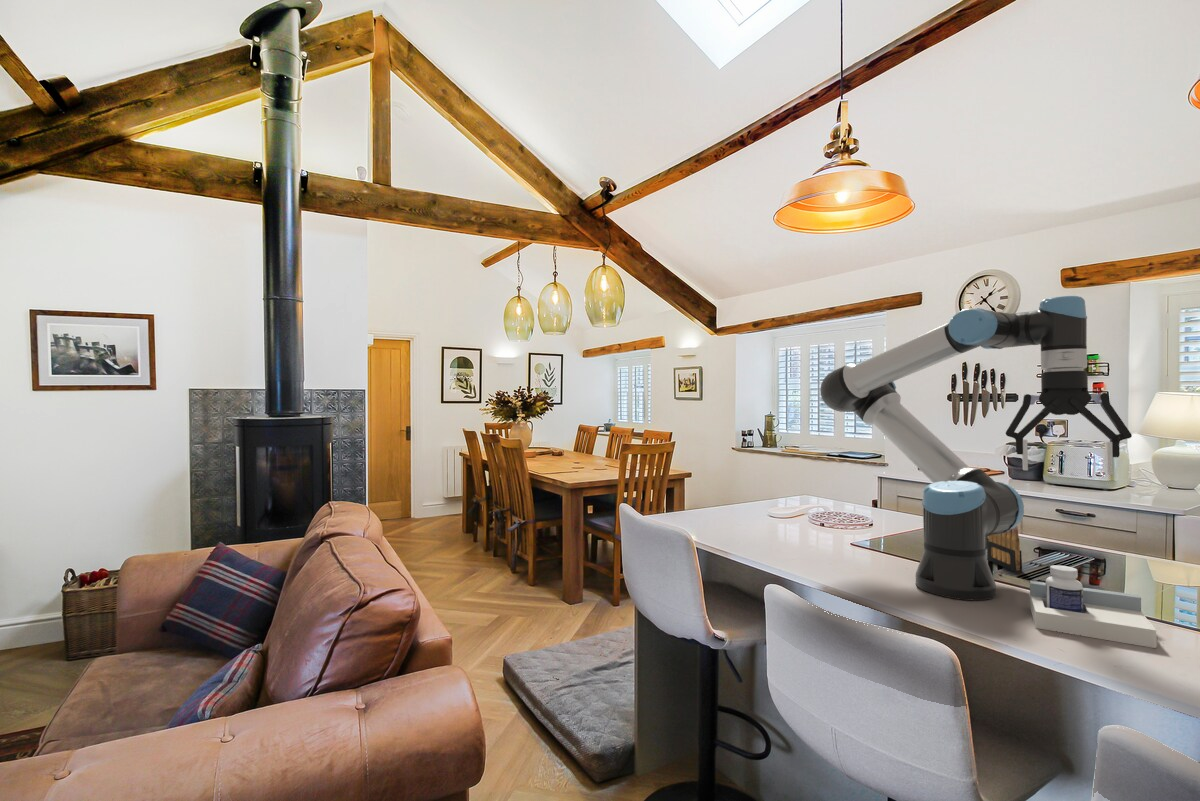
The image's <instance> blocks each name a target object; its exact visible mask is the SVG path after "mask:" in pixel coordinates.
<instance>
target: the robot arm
mask: <svg viewBox="0 0 1200 801" xmlns="http://www.w3.org/2000/svg"><path fill="white" fill-rule="evenodd" d="M1087 319H1088V316H1087V310H1086V301H1085V299H1084V298H1083V297H1082V296H1078V295H1066V296H1065V295H1063V296H1054V297H1050V298H1045V299H1042V300H1041V301H1040V303H1039V307H1038V309H1036V310H1032V311H1031V310H1030V311H1022V312H1013V313H1008V312H1001V311H994V310H987V309H984V308H980V307H979V308H977V307H976V308H965V309H962V310H960V311H958V312H956V313H955V314H954V315H953V316H952V318H951V319H950V321H949V322H947V323H945V324H943V325H940V326H938V327H936V328H934V329H931V330H930V331H929V330H928V332H925V333H922V334H920V335H919V336H916V337H914V338H912V339H909V340H908V341H905V342H903V343H901V344H899V345H897V346H894V347H892V348H890V349H887V350H886V351H884V352H881V353H879V354H877V355H874V356H872V357H870V358H867V359H866V360H863V361H862V362H859V363H847V364H845V365H843V366H841V367H838V368H837V369H835V370H832V371H831V372H830V373H828V374H827V375H825V377H824V378H823V380H822V381H821V384H820V390H819V391H820V396H821V399H822V401H823V403H824V404H825V405H826V406H827V407H828V408H830V409H832V410H833V411H836V412H840V413H841V412H842V413H854V414H855V415H856V416H857V417H858V418H859V419H860V420H861V421H862V422H863V423H864V424H866V425H873V426H876V428H877V429H878V430H879V431H880V432H881V433H882V434H884V435H885V437H887V439H889V441H890V442H892V444H894V445H895V447H896V448H898V450H900V451H901V453H902V454H903V455H904V456H906V458H907V459H908V460H909V461H911V463H912V464H914V466H915V467H916V468H918V469H919V471H920V472H922V474H923V475H924V476H926V477H927V479H928V480H930V481H931V483H930V484H927V485H926V486H925V487H924V490H923V494H922V496H923V498H922V513H923V514H922V515H923V516H922V518H923V520H922V523H923V553H922V555H921V558H920V561H919V564H918V566H917V570H916V572H915V586H916V587H917V588H919V589H921V590H923V591H925V592H927V593H931V594H933V595H937V596H941V597H946V598H951V599H956V600H957V599H958V600H967V601H985V600H991V599H993V598H995V597H996V596H997V585H996V582H995V580H994V579H995V578H994V576H993V574H992V570H991V568H990V565H989V563H988V560H987V555H986V554H987V551H986V538H987V537H989V536H990V535H995V534H1002V533H1005V532H1007V531H1009V530H1011V529H1013V528H1015V527H1016V526H1017V527H1018V526H1019V524H1020V523H1021V521H1022V520H1023V517H1024V514H1025V509H1024V507H1025V505H1024V502H1023V499H1022V497H1021V495H1020V493H1019V492H1018V491H1017V490H1016V489H1015V488H1013V486H1011V485H1009V484H1006V483H1004V482H1001V481H995V480H994V479H993V478H992V477H991V476H990V475H988V474H987V473H986V472H985V471H984V470H983V469H982V468H979V467H970V466H969V465H968V464H966V462H965V461H963V460H962V458H960V457H959V455H957V454H956V453H955V452H954V451H952V450H951V448H949V447H948V446H947V445H946V444H945V443H944V442H943V441H942V440H941V439H939V437H937V435H935V434H934V433H933V432H932V430H931V431H930V430H929V428H928V427H926V426H925V424H923V423H922V422H921V421H920V420H919V419H918V418H916V417H915V416H914V415H913V414H912V413H911V412H910V411H909V410H908V409H907V408H906V407H905V406H903V404H901V398H902V397H901V394H899V393H898V392H897V390H896V389H897V387H896V384H895V382H896V381H897V380H900V379H902V378H905V377H908V376H910V375H912V374H915V373H918V372H919V371H922V370H924V369H927V368H929V367H932V366H934V365H937V364H939V363H941V362H943V361H947V360H950V359H951V358H954V357H956V356H958V355H961V354H963V353H966V352H969V351H971V350H974V349H976V348H979V347H981V348H982V349H986V350H991V349H994V350H995V349H996V350H997V349H998V350H1001V349H1002V350H1003V349H1006V348H1015V347H1016V348H1017V347H1023V346H1024V347H1026V346H1027V347H1028V346H1038V345H1040V369H1041V370H1042V371H1043V372H1042V374H1040V376H1041V377H1040V378H1041V379H1040V380H1041V382H1040V383H1041V392H1040V395H1034V394H1029V393H1028V394H1027V393H1026V394H1024V395H1023V399H1022V404H1021V406H1020V408H1019V409H1018V411H1017V413H1016V414H1015V416H1014V418H1013V419H1012V421H1011V423H1010V424H1009V426H1008V428H1007V429H1006V430H1005V435H1006V436H1007V437H1009V438H1013V439H1014V440H1015V452H1016V455H1022V458H1021V459H1022V470H1023V471H1029V461H1028V460H1029V458H1028V457H1029V456H1028V451H1029V450H1028V439H1024V438H1025V437H1026V436H1027V435H1028V434H1029V433H1030V432H1031V431H1032V430H1033V429H1034V428H1036V426H1038V425H1039V424H1040V423H1041V422H1042V421H1043V420H1044V419H1045V418H1046V417H1048V416H1049V415H1050V414H1051V415H1054V416H1061V415H1070V416H1074V415H1078V414H1080V415H1081V416H1083V417H1084V418H1085V419H1087V421H1089V423H1090V424H1092V425H1093V426H1094V427H1095V428H1096V429H1097V430H1099V431H1100V433H1102V434H1103V435H1104V436H1105V437H1106V438H1108V439H1109V440H1104V463H1105V465H1104V466H1105V468H1104V470H1105V474H1106V475H1114V468H1113V467H1114V465H1113V463H1114V462H1113V461H1114V460H1113V459H1114V458H1119V457H1120V456H1121V455H1120V443H1121V441H1123V440H1128V439H1131V438H1132V436H1133V435H1132V433H1131V432H1130V431H1129V428H1128V427H1127V426H1126V425H1125V422H1124V421H1123V420H1122V419H1121V417H1120V416H1119V414H1118V413H1117V411H1116V410H1115V409H1114V407H1113V406H1112V404H1111V401H1110V395H1109V393H1108V392H1100V393H1097V394H1096V393H1094V394H1090V392H1089V386H1088V384H1089V383H1088V378H1089V376H1088V372H1087V371H1086V370H1084V369H1087V367H1088V354H1087V352H1088V349H1087V346H1088V345H1087V338H1088V337H1087V330H1088V329H1087V326H1088V325H1087ZM894 381H895V382H894ZM1037 401H1039V402H1040V403H1041V404H1042V406H1043V408H1042V409H1041V410H1040V411H1039V412H1038V414H1036V415H1035V416H1034V417H1033V418H1032V419H1031V420H1030V421H1029V422H1028V423H1027V424H1026V425H1024V427H1023V428H1022V429H1021V430H1019V431H1018V432H1015V431H1016V430H1017V428H1018V427H1019V426H1020V423H1021V422H1022V420H1023V418H1024V416H1025V415H1026V413H1027V412H1028V410H1029V408H1030V406H1031V405H1035V403H1036V402H1037ZM1091 401H1094V402H1095V404H1096V405H1100V407H1101V409H1102V410H1103V412H1104V413H1105V415H1106V416H1107V417H1108V419H1109V420H1110V421H1111V423H1112V425H1113V426H1114V427H1115V429H1116V430H1117V432H1118V433H1115V432H1114V431H1113V430H1112V429H1111V428H1110V427H1108V425H1106V424H1105V423H1104V422H1103V421H1102V420H1100V419H1099V418H1098V417H1097V416H1096V415H1095V414H1093V413H1092V411H1090V410H1089V409H1088V408H1087V407H1086V406H1087V405H1088V404H1089V403H1090V402H1091Z"/></svg>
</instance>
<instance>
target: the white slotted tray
mask: <svg viewBox="0 0 1200 801" xmlns="http://www.w3.org/2000/svg"><path fill="white" fill-rule="evenodd" d="M1029 605H1030V606H1029V608H1030V611H1031V615H1032V619H1033V622H1034V626H1035V628H1036V629H1039V630H1046V631H1052V632H1056V631H1057V632H1058V633H1062V632H1063V633H1064V634H1068V633H1069V634H1071V635H1074V634H1075V635H1076V636H1080V635H1081V637H1087V638H1094V639H1099V640H1105V641H1110V642H1111V641H1112V642H1115V643H1116V642H1118V643H1122V644H1123V643H1124V644H1128V645H1135V646H1140V647H1147V648H1152V649H1157V630H1156V628H1155V627H1154V625H1153V624H1152V623H1151V622H1150V620H1149V619H1148V618H1147V617H1146V616H1145V614H1144V613H1143V612H1142V598H1141V597H1140V595H1139V594H1134V593H1127V592H1120V591H1113V590H1105V589H1104V590H1103V589H1097V588H1096V589H1095V588H1090V587H1089V588H1088V587H1083V613H1079V612H1072V611H1066V610H1059V609H1052V608H1046V582H1044V581H1036V580H1029ZM1063 633H1062V634H1063Z"/></svg>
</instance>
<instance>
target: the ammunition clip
mask: <svg viewBox="0 0 1200 801" xmlns="http://www.w3.org/2000/svg"><path fill="white" fill-rule="evenodd" d="M986 542H987V543H986V549H987V550H986V554H987V555H986V560H987V561H988V562H992V563H994V564H996V565H998V566H1001V567H1003V568H1005V569H1008V570H1009V571H1012V572H1016V573H1017V572H1019V573H1020V572H1021V573H1022V572H1023V558H1022V555H1023V554H1022V550H1020V544H1021V542H1020V537H1019V527H1018V525H1017V526H1016V527H1015V528H1013V529H1011V530H1009V531H1007V532H1005V533H1002V534H995V535H990V536H988V540H987V541H986Z"/></svg>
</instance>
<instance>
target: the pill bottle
mask: <svg viewBox="0 0 1200 801" xmlns="http://www.w3.org/2000/svg"><path fill="white" fill-rule="evenodd" d="M1049 572H1050V575H1051V576H1048V577H1047V578H1046V579H1045V583H1046V608H1052V609H1059V610H1066V611H1072V612H1079V613H1083V588H1084V587H1083V584H1082V582H1080V581H1079V580H1077V579H1078V576H1079V575H1078V574H1079V573H1078V569H1077V568H1075V567H1072V566H1066V565H1058V564H1056V565H1054V564H1053V565H1050V568H1049Z"/></svg>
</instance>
